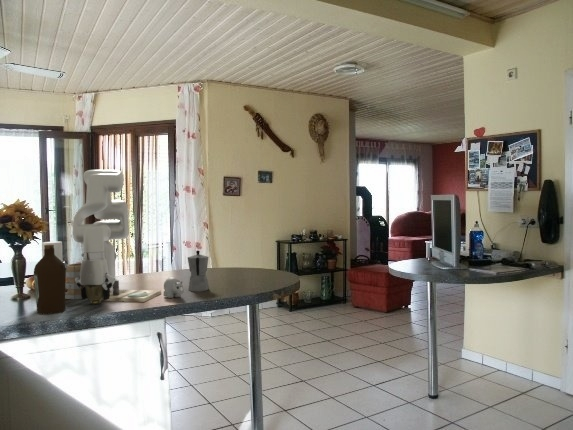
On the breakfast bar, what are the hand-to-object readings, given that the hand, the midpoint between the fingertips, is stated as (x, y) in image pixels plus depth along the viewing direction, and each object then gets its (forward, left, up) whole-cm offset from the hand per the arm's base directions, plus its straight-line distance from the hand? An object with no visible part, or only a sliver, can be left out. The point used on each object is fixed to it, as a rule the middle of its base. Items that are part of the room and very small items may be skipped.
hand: (95, 299), depth 178 cm
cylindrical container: (-17, -2, -2) cm, 17 cm away
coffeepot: (+32, +30, -2) cm, 44 cm away
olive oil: (-10, -13, -2) cm, 16 cm away
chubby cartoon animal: (+28, +13, -2) cm, 31 cm away
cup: (0, 0, -2) cm, 2 cm away
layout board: (+8, +13, -2) cm, 15 cm away
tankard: (-15, +17, -2) cm, 23 cm away
